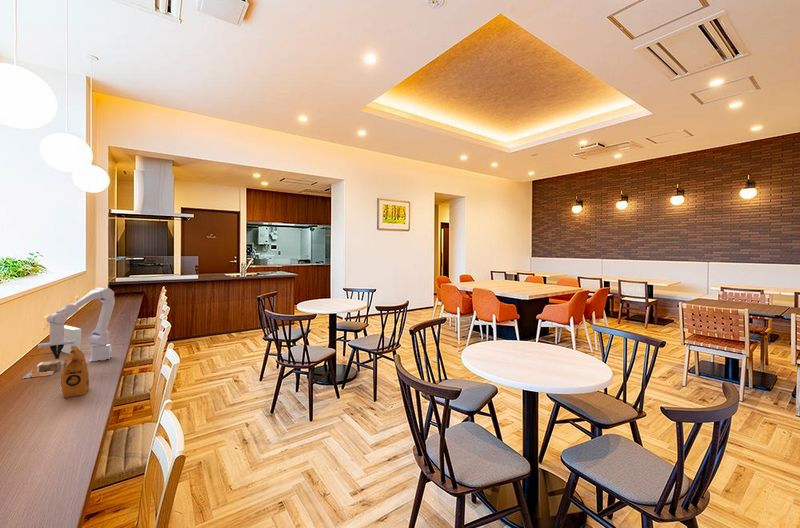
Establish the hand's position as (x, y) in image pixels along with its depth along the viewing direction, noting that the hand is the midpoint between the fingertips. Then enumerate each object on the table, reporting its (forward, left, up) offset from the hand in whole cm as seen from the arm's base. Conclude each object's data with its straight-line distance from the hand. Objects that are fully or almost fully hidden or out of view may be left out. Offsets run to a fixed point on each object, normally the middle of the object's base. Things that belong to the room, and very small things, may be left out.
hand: (57, 358), depth 190 cm
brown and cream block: (-1, 0, -4) cm, 4 cm away
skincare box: (+4, -41, -7) cm, 42 cm away
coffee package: (-17, +43, -7) cm, 47 cm away
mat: (+5, 0, -6) cm, 8 cm away
